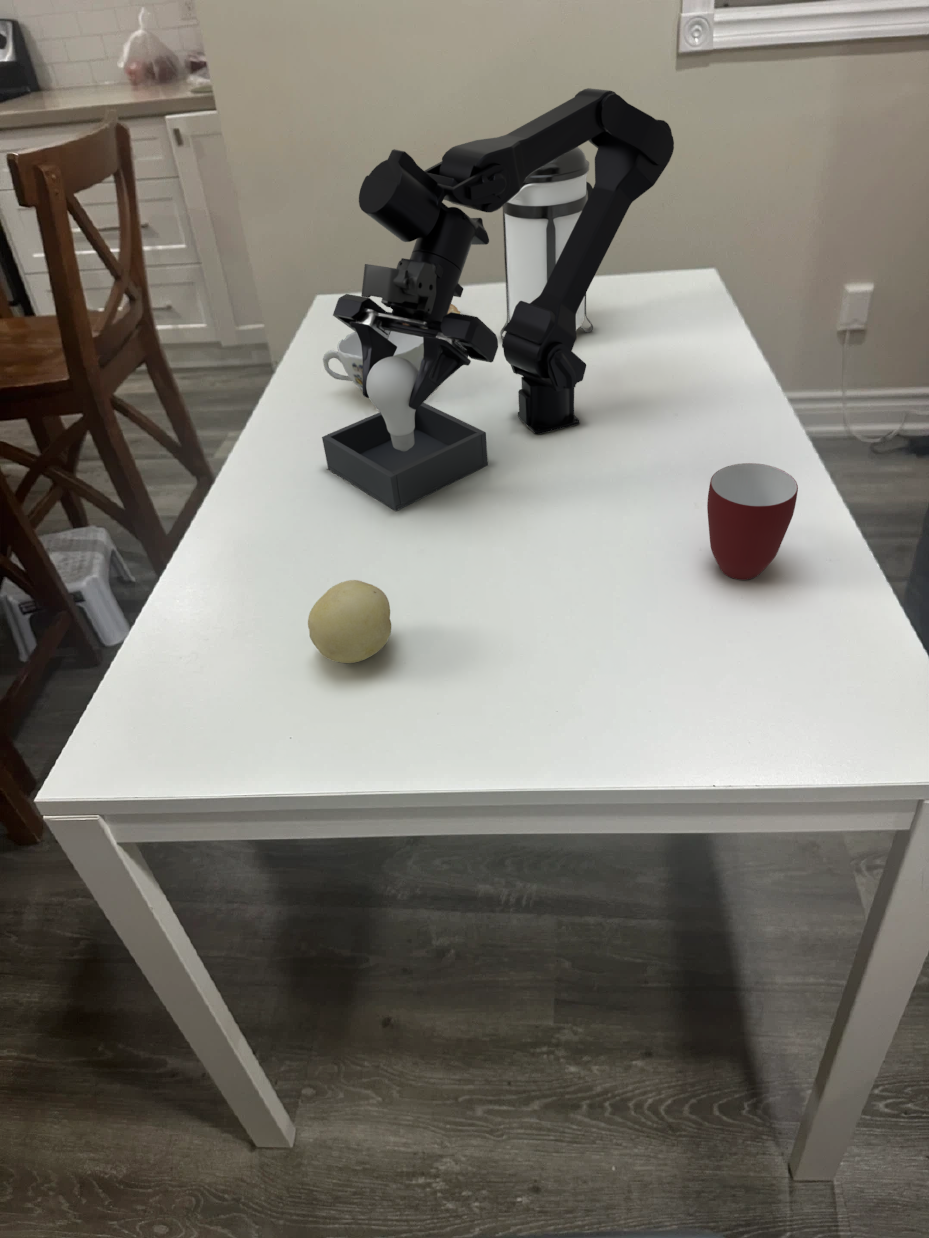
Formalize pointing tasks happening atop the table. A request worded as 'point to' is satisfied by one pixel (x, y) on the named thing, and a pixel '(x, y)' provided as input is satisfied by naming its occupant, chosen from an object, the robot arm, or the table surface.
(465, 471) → the square tray
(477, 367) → the table surface
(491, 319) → the table surface
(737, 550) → the mug
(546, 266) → the coffee press
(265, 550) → the table surface
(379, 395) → the lightbulb
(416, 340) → the teacup
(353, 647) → the potato
